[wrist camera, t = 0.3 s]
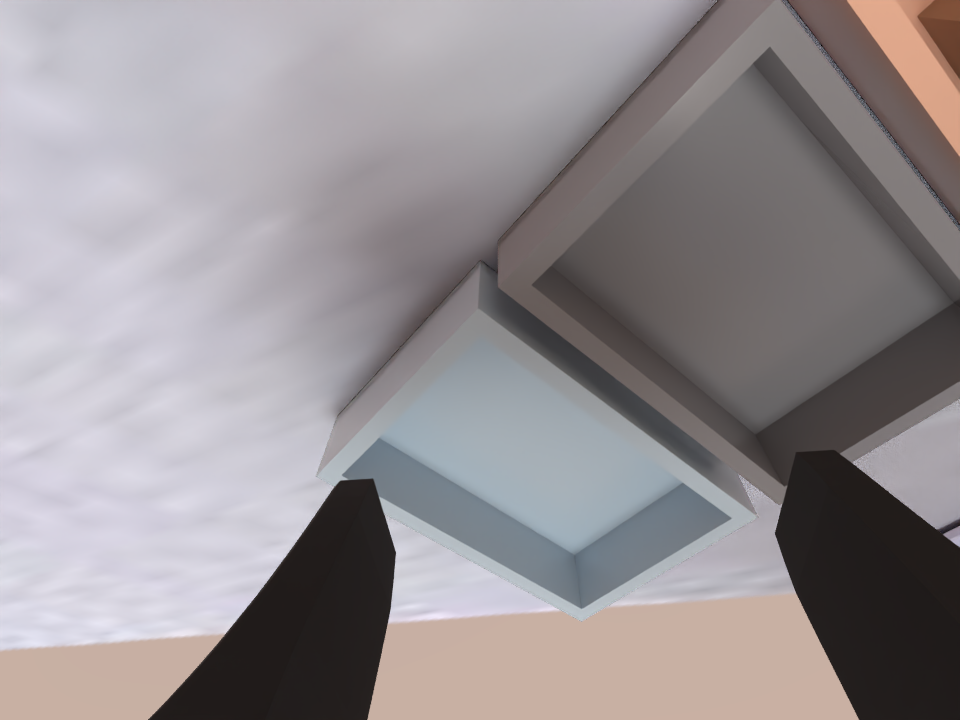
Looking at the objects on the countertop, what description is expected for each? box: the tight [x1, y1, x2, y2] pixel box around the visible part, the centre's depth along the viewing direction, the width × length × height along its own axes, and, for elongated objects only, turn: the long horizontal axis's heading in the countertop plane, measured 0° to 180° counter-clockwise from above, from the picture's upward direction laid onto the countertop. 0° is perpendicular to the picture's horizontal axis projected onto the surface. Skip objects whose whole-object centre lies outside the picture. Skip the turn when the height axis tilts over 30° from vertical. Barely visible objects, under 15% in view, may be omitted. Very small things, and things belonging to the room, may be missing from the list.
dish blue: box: [316, 260, 758, 622], centre depth 20 cm, size 12×8×3 cm
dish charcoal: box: [498, 0, 960, 505], centre depth 16 cm, size 12×8×3 cm
